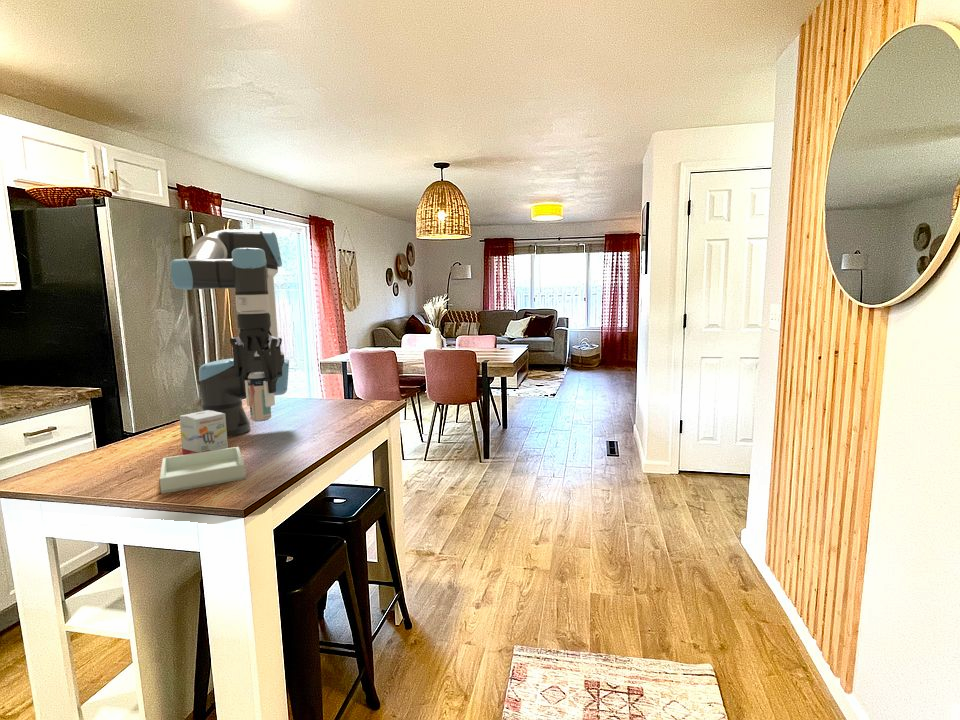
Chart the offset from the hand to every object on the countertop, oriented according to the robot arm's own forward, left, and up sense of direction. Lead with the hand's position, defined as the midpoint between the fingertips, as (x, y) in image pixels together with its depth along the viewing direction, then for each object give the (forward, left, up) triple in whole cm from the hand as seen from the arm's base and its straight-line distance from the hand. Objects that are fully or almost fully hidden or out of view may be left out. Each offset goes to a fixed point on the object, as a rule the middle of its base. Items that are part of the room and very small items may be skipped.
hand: (261, 405), depth 132 cm
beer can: (0, 0, -4) cm, 4 cm away
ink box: (-20, -13, -16) cm, 29 cm away
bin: (-2, -14, -16) cm, 21 cm away
